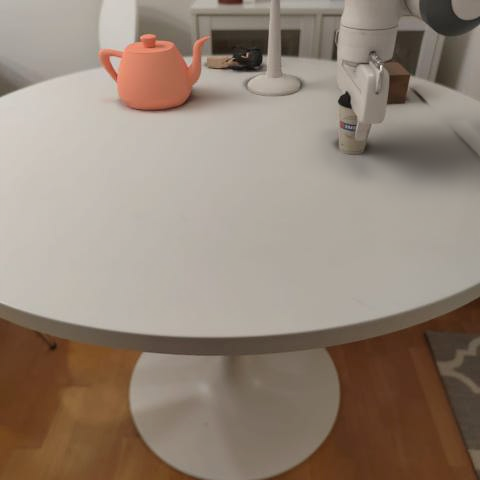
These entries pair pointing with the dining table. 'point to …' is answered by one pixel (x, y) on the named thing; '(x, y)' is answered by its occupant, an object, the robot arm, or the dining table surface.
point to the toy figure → (238, 59)
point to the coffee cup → (349, 127)
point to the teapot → (153, 73)
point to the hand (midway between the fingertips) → (354, 129)
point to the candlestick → (274, 63)
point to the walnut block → (397, 82)
